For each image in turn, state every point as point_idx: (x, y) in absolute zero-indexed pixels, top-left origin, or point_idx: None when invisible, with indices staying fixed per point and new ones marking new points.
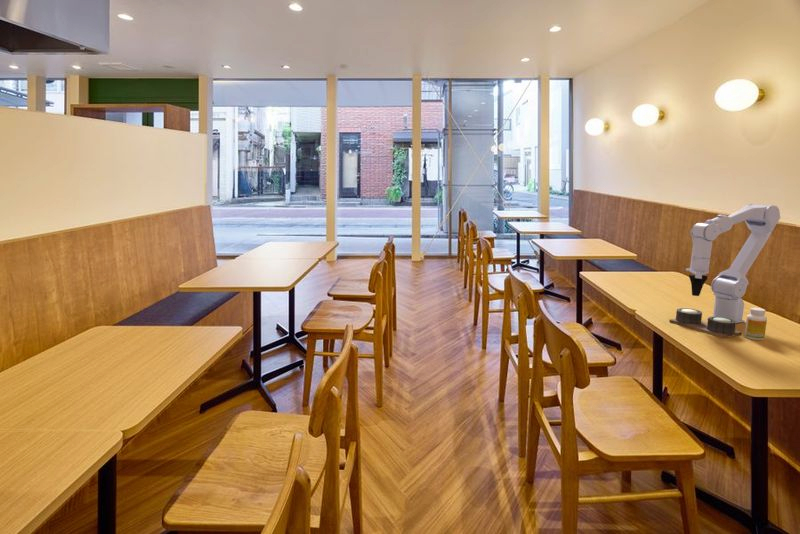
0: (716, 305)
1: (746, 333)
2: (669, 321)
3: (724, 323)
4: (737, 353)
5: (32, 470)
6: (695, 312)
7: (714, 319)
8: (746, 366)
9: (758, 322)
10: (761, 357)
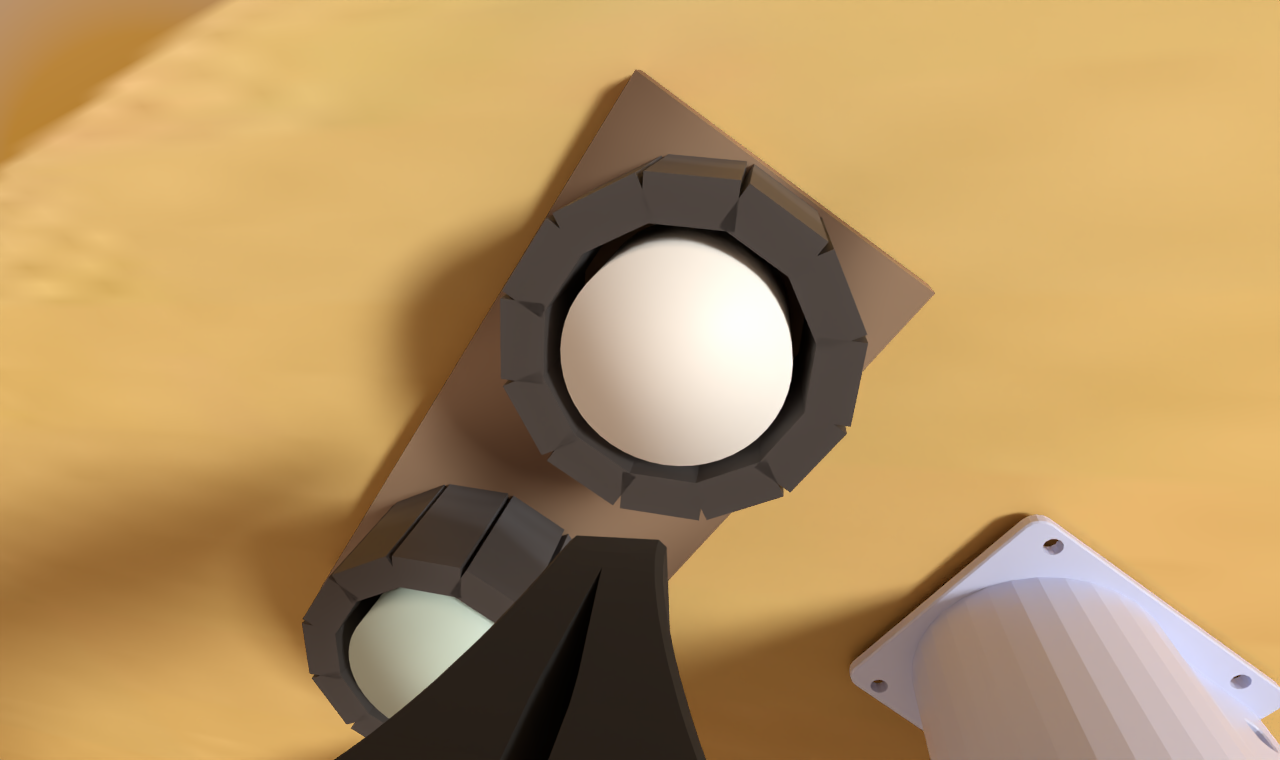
0: (1047, 740)
1: None
2: (640, 70)
3: (320, 672)
4: (18, 610)
5: None
6: (618, 439)
7: (380, 611)
8: None
9: None
10: (58, 714)
